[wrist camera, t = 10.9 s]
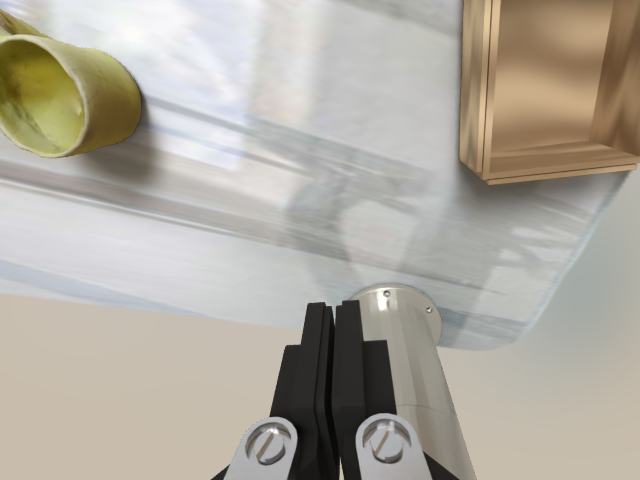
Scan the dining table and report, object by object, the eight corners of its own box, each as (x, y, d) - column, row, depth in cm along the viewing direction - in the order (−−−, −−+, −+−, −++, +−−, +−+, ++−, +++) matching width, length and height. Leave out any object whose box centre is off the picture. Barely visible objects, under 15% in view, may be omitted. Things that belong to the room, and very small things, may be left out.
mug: (176, 129, 34) (71, 141, 26) (116, 160, 40) (12, 178, 31) (119, -8, 32) (-18, -44, 23) (63, 45, 37) (-66, 31, 29)
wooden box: (590, 149, 34) (644, 168, 28) (453, 164, 36) (475, 186, 30) (632, -78, 27) (718, -121, 21) (458, -46, 28) (489, -77, 22)
